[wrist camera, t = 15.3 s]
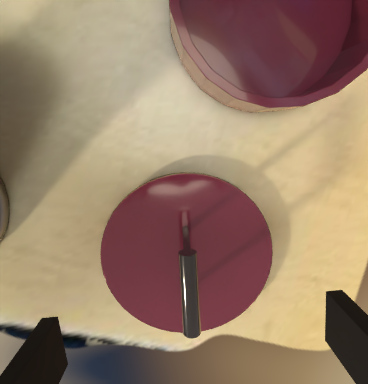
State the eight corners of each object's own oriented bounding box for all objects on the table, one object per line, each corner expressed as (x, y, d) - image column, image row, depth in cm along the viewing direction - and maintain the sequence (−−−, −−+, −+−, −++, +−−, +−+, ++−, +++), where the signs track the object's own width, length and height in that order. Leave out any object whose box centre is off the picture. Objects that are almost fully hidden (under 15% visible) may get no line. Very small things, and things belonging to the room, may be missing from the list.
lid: (113, 331, 35) (91, 398, 26) (93, 177, 31) (59, 195, 22) (268, 320, 35) (298, 384, 26) (270, 166, 31) (307, 181, 22)
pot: (176, 116, 30) (175, 113, 23) (163, -94, 26) (159, -166, 19) (350, 107, 30) (395, 101, 24) (365, -103, 26) (425, -178, 19)
